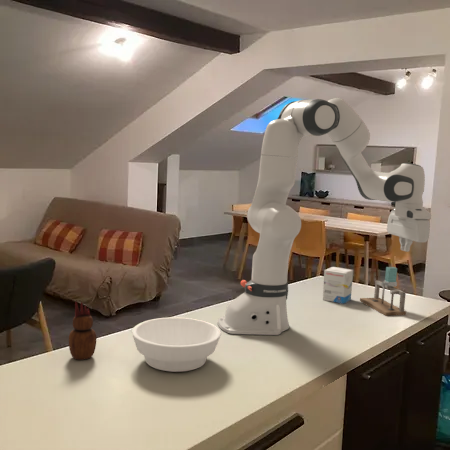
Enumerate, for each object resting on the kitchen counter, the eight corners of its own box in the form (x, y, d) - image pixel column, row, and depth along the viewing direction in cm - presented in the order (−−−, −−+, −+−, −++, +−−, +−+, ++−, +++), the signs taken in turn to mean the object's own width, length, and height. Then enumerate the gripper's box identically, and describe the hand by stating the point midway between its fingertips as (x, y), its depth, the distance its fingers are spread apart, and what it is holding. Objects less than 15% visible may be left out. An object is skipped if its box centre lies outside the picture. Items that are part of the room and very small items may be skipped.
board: (385, 315, 186) (387, 293, 185) (359, 301, 204) (361, 280, 203) (405, 315, 188) (407, 292, 187) (378, 300, 206) (380, 280, 205)
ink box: (351, 299, 206) (354, 269, 204) (343, 304, 199) (346, 273, 197) (330, 295, 210) (332, 265, 209) (321, 299, 203) (324, 269, 202)
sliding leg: (382, 304, 194) (386, 268, 192) (378, 302, 197) (381, 266, 195) (395, 304, 196) (398, 268, 194) (390, 302, 198) (393, 266, 197)
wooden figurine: (68, 362, 134) (68, 304, 132) (68, 354, 140) (69, 297, 137) (96, 361, 136) (97, 303, 134) (95, 352, 141) (96, 296, 139)
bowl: (123, 350, 144) (124, 320, 143) (203, 343, 152) (204, 314, 151) (141, 385, 123) (142, 350, 122) (232, 375, 131) (234, 342, 130)
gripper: (384, 207, 194) (381, 245, 196) (417, 214, 175) (414, 256, 177) (399, 207, 196) (396, 245, 198) (434, 214, 176) (430, 256, 178)
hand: (404, 250), depth 187 cm, fingers closed
